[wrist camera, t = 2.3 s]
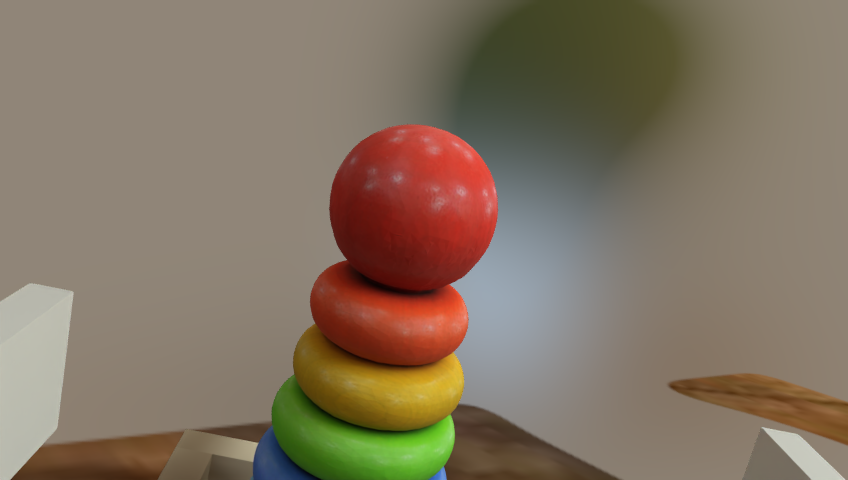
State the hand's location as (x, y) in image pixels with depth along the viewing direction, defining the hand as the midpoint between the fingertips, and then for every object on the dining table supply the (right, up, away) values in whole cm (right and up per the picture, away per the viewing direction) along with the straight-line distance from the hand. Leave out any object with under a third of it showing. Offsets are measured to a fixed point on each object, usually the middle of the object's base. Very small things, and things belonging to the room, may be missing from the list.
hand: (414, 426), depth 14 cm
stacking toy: (-4, -11, +13) cm, 17 cm away
